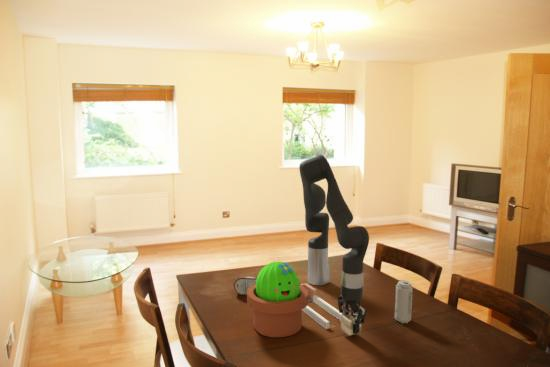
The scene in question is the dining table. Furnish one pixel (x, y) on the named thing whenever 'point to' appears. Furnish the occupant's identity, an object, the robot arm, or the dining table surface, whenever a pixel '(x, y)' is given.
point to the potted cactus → (277, 300)
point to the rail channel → (322, 304)
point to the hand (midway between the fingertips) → (350, 329)
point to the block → (348, 324)
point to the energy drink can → (403, 301)
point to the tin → (244, 283)
